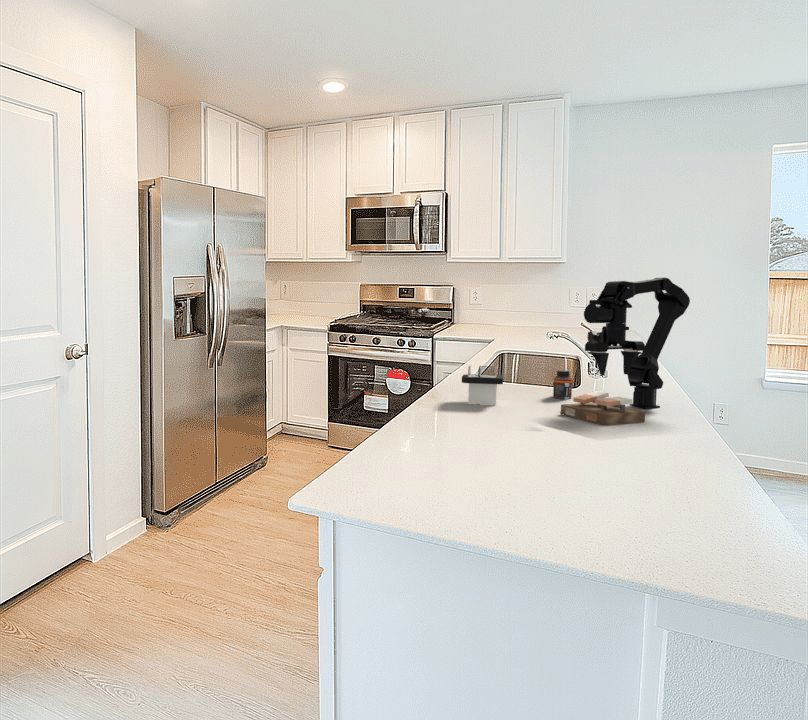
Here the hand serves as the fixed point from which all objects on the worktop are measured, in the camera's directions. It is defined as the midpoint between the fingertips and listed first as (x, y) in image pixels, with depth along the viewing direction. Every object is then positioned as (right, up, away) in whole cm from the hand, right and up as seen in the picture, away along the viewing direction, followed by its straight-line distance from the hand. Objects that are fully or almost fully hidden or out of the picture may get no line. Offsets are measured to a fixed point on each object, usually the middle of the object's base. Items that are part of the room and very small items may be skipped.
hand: (614, 374), depth 178 cm
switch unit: (-6, -12, -6) cm, 15 cm away
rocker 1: (-8, -8, -3) cm, 11 cm away
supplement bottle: (-11, -11, +19) cm, 24 cm away
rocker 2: (-4, -8, -11) cm, 14 cm away
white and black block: (-38, -11, +12) cm, 42 cm away
